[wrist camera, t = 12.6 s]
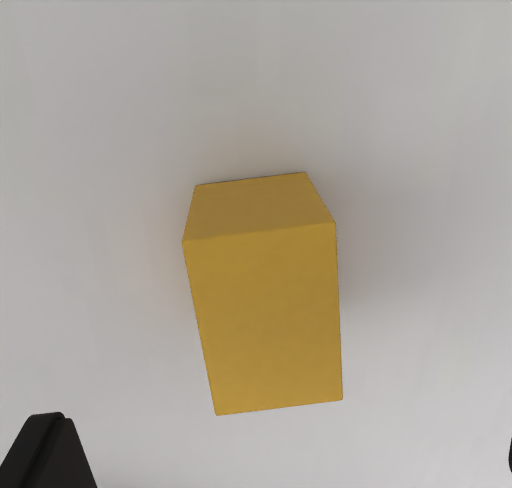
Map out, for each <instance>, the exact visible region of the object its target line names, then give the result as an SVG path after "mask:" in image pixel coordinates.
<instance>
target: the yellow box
mask: <svg viewBox="0 0 512 488" xmlns="http://www.w3.org/2000/svg"><path fill="white" fill-rule="evenodd" d="M182 247H183V252H184V257H185V263H186V268H187V273H188V278H189V283H190V288H191V293H192V298H193V303H194V308H195V314H196V319H197V324H198V329H199V334H200V339H201V344H202V349H203V354H204V359H205V364H206V370H207V375H208V380H209V385H210V390H211V395H212V400H213V405H214V410H215V414H216V415H217V416H219V415H227V414H235V413H243V412H251V411H259V410H267V409H275V408H283V407H291V406H299V405H307V404H315V403H323V402H331V401H339V400H342V399H343V389H342V364H341V340H340V315H339V290H338V265H337V240H336V223H335V221H334V220H333V218H332V216H331V214H330V213H329V211H328V209H327V208H326V206H325V204H324V203H323V201H322V199H321V198H320V196H319V194H318V192H317V191H316V189H315V187H314V186H313V184H312V182H311V181H310V179H309V177H308V176H307V174H306V172H301V173H292V174H284V175H276V176H268V177H260V178H252V179H244V180H235V181H227V182H219V183H211V184H203V185H196V186H195V189H194V193H193V197H192V201H191V206H190V210H189V214H188V218H187V222H186V226H185V231H184V235H183V239H182Z"/></svg>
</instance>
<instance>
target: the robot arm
mask: <svg viewBox="0 0 512 488" xmlns="http://www.w3.org/2000/svg"><path fill="white" fill-rule="evenodd" d="M509 466H510V470H511V472H512V439H511V445H510V452H509ZM0 488H97V486H96V483H95V480H94V477H93V475H92V472H91V469H90V466H89V464H88V461H87V458H86V456H85V453H84V450H83V447H82V445H81V442H80V439H79V436H78V434H77V431H76V428H75V425H74V423H73V421H72V419H70V418H66V419H65V417H64V415H63V414H62V413H61V412H54V413H45V414H36V415H31V416H30V417H29V418H28V419H27V420H26V422H25V423H24V425H23V427H22V429H21V431H20V432H19V434H18V436H17V438H16V439H15V441H14V443H13V445H12V447H11V448H10V450H9V452H8V454H7V455H6V457H5V459H4V461H3V463H2V464H1V466H0Z"/></svg>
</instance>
